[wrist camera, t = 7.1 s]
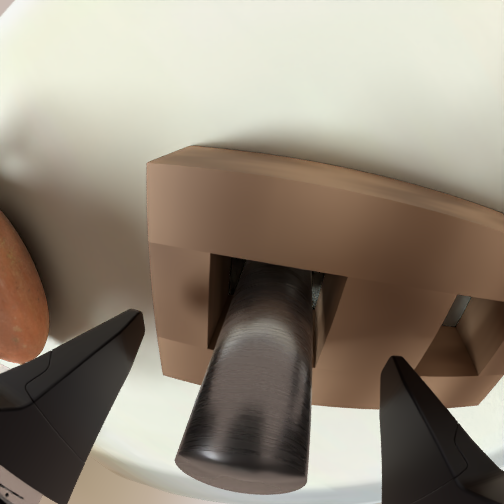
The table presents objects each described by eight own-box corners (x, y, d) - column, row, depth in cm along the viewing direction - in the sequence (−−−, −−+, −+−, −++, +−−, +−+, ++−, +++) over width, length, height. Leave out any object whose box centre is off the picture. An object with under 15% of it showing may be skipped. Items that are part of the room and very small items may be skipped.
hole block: (528, 223, 10) (571, 258, 7) (460, 360, 15) (477, 405, 12) (190, 145, 12) (146, 163, 9) (187, 324, 17) (163, 374, 13)
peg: (317, 240, 13) (324, 464, 4) (304, 294, 15) (290, 499, 6) (251, 228, 13) (167, 437, 5) (244, 284, 15) (180, 478, 6)
